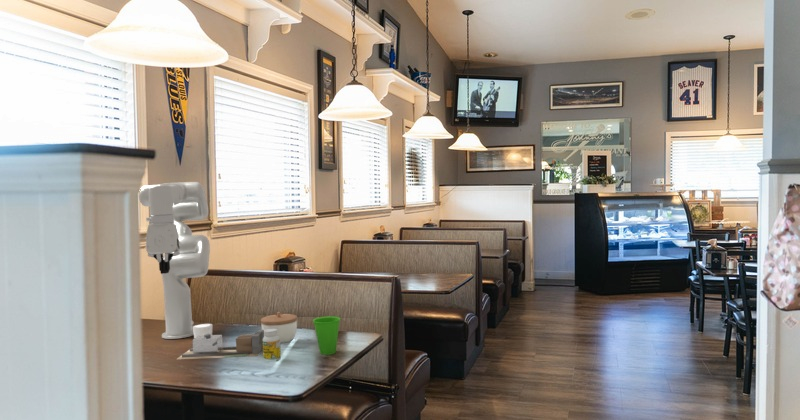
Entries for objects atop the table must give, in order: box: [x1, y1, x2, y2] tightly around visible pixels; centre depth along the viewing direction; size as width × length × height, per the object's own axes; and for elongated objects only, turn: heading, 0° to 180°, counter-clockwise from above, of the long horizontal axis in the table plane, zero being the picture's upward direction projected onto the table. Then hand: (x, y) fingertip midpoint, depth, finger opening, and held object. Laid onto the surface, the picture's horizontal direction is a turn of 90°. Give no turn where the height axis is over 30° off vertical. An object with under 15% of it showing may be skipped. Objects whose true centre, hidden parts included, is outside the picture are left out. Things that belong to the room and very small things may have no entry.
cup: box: [312, 315, 341, 356], centre depth 183 cm, size 9×9×11 cm
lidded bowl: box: [260, 311, 298, 344], centre depth 198 cm, size 13×13×11 cm
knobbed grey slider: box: [192, 334, 224, 354], centre depth 183 cm, size 7×8×6 cm
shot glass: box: [192, 323, 213, 339], centre depth 200 cm, size 7×7×7 cm
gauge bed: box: [176, 329, 264, 360], centre depth 184 cm, size 12×26×7 cm, turn 90°
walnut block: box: [235, 333, 254, 353], centre depth 184 cm, size 5×5×5 cm
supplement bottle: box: [262, 329, 282, 362], centre depth 177 cm, size 5×5×10 cm
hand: (164, 272), depth 193 cm, fingers closed
